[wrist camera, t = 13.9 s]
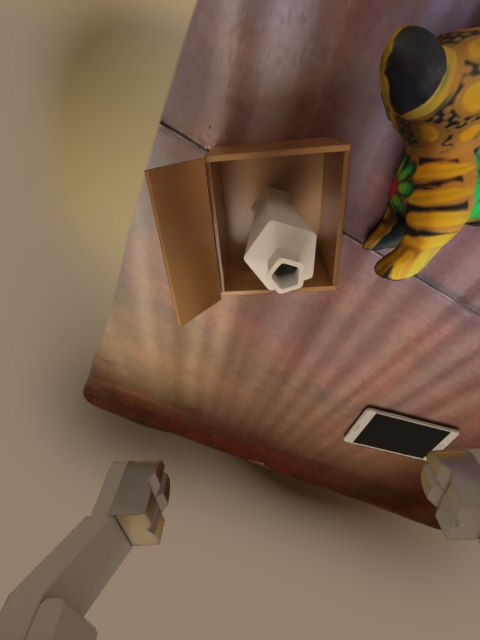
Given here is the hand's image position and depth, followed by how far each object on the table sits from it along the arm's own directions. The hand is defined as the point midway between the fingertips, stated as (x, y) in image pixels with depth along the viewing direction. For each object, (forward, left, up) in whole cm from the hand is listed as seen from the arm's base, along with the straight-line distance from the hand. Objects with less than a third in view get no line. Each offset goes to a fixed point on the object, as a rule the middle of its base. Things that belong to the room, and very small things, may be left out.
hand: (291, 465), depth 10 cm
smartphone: (+19, -32, -26) cm, 45 cm away
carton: (+1, +2, -26) cm, 26 cm away
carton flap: (-5, +2, -16) cm, 17 cm away
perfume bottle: (+1, +1, -25) cm, 25 cm away
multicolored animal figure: (+17, +5, -26) cm, 31 cm away
